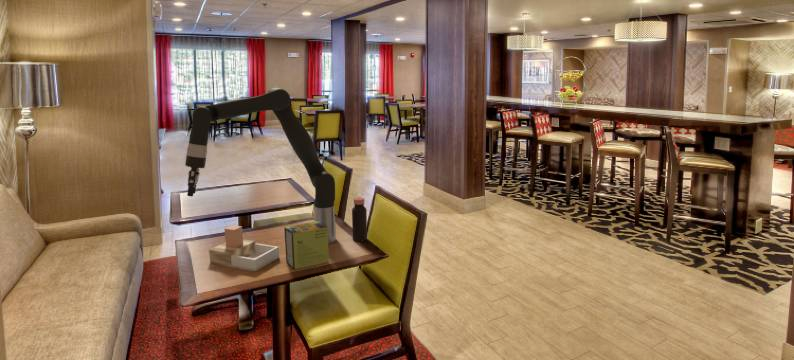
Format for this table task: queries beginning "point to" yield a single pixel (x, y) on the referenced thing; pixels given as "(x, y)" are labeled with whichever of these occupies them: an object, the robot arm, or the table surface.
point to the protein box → (306, 244)
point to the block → (233, 236)
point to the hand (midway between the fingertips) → (191, 194)
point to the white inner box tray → (256, 258)
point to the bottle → (359, 220)
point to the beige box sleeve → (230, 252)
